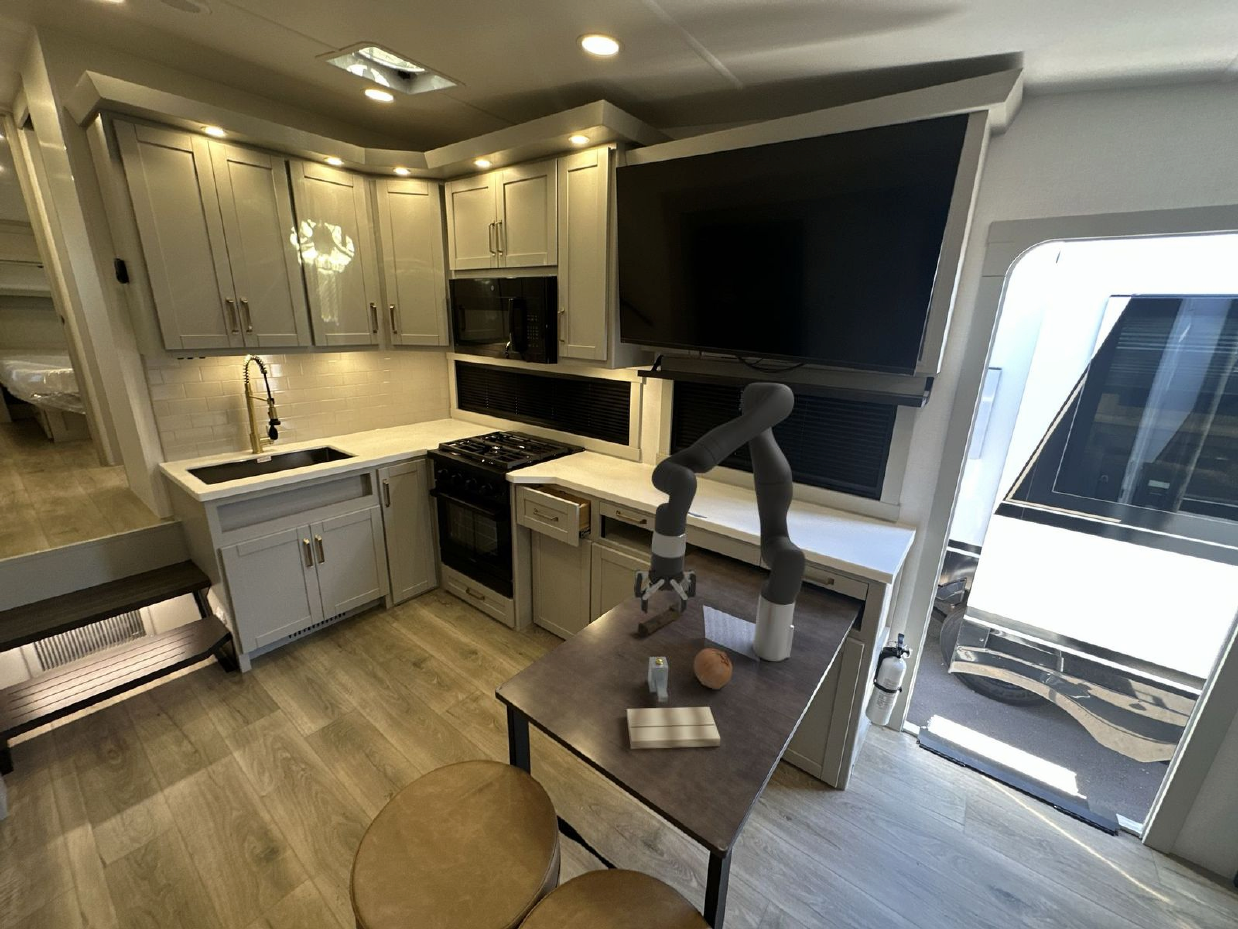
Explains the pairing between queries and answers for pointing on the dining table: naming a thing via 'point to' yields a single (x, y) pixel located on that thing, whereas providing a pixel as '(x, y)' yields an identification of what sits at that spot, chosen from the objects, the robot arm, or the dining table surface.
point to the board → (672, 727)
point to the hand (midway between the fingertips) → (662, 611)
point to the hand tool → (659, 620)
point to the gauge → (658, 677)
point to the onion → (713, 668)
